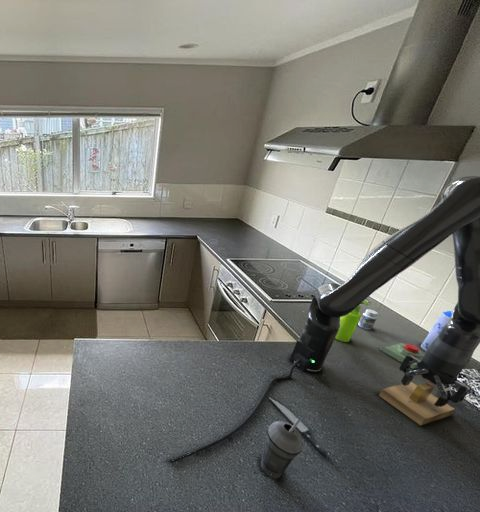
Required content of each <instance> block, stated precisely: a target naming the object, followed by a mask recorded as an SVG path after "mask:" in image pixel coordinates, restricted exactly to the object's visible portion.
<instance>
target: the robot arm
mask: <svg viewBox="0 0 480 512" xmlns="http://www.w3.org/2000/svg"><path fill="white" fill-rule="evenodd" d="M451 235H452V241H453V255H454V256H453V258H454V271H455V279H456V283H457V302H456V304H455V306H454V308H453V310H452V311H453V312H452V314H451V317H450V319H449V321H448V322H447V324H446V325H445V326H444V327H443V329H442V330H441V332H440V334H439V335H438V337H437V338H436V339H435V340H434V341H433V342H432V344H431V345H430V347H429V348H428V350H427V351H425V353H424V356H423V358H422V360H419V359H417V358H416V357H415V356H414V355H409V356H406V357H405V359H404V360H403V362H401V364H400V365H399V366H398V367H399V368H398V369H399V370H400V371H401V372H402V373H404V375H403V377H402V378H401V384H402V385H404V386H407V385H409V384H410V382H412V381H413V379H414V378H415V376H421V377H422V378H423V379H425V380H427V381H428V382H429V383H431V384H432V385H434V386H435V385H436V386H437V387H436V388H437V390H438V391H439V393H440V396H438V397H437V398H438V400H437V401H436V403H435V404H434V405H435V406H437V407H439V406H440V407H442V406H445V405H446V404H448V403H449V401H450V402H452V403H453V404H458V403H461V402H463V400H464V399H465V398H466V396H468V394H469V392H470V391H471V390H472V386H471V385H469V384H464V383H462V382H461V381H458V376H459V375H460V374H461V372H463V370H464V368H465V367H466V366H467V364H469V362H470V361H471V358H472V357H473V355H474V352H475V350H476V349H477V347H478V346H479V345H480V175H468V176H462V177H459V178H457V179H454V180H452V181H451V182H449V183H448V184H447V185H445V186H444V188H443V190H442V191H441V201H440V202H438V203H437V205H435V206H434V207H432V209H431V210H430V211H428V212H427V213H426V214H424V215H423V216H422V217H420V218H418V219H417V220H415V221H414V222H412V223H410V224H408V225H406V226H404V227H403V228H400V229H399V230H397V231H395V232H393V233H392V234H391V235H389V236H387V237H386V238H385V239H382V241H381V242H380V243H378V244H377V245H376V246H375V247H373V248H372V249H371V250H369V252H368V253H367V254H366V255H365V256H364V258H362V260H361V262H360V263H359V265H358V266H357V268H356V270H355V271H354V272H353V274H352V275H351V276H350V277H349V278H348V279H346V281H344V282H343V283H342V284H338V283H334V282H328V283H324V284H322V285H320V286H318V288H316V290H315V292H314V294H313V296H312V299H311V302H310V305H309V307H308V311H307V318H306V320H305V323H304V326H303V328H302V330H301V332H300V335H299V337H298V340H296V342H295V344H294V347H293V350H292V352H291V355H290V357H289V360H290V361H291V362H292V365H291V367H290V370H289V372H288V374H286V375H284V376H275V377H273V378H271V379H270V381H269V382H268V384H267V385H266V388H265V390H264V392H263V393H262V395H261V397H260V398H259V400H258V401H257V403H256V405H255V406H254V408H253V409H252V410H251V412H250V413H249V414H248V415H247V417H246V418H245V419H243V421H242V422H240V424H238V425H237V426H236V427H234V428H233V429H232V430H230V431H229V432H226V433H225V434H224V435H222V436H220V437H218V438H216V439H214V440H213V441H211V442H208V443H206V444H204V445H201V446H199V447H197V448H194V449H192V450H190V451H187V452H185V453H183V454H179V455H177V456H174V457H172V458H170V459H169V462H170V463H171V464H175V463H177V462H179V461H181V460H184V459H186V458H188V457H191V456H193V455H195V454H198V453H201V452H202V451H205V450H207V449H210V448H211V447H214V446H216V445H217V444H220V443H222V442H223V441H225V440H227V439H229V438H230V437H232V436H233V435H234V434H236V433H237V432H239V431H240V430H241V429H242V428H244V427H245V425H247V423H248V422H250V420H251V419H252V418H253V417H254V415H255V414H256V413H257V411H258V409H259V408H260V406H261V405H262V403H263V402H264V400H265V398H266V396H267V394H269V391H270V389H271V387H272V385H273V384H274V382H276V381H280V380H287V379H289V378H291V376H292V375H293V373H294V370H295V368H296V366H297V367H298V368H299V369H300V370H301V371H303V372H309V373H319V372H321V371H322V367H323V365H324V363H325V361H326V358H327V357H328V355H329V352H330V350H331V348H332V346H333V343H334V341H335V339H336V338H335V337H336V335H337V333H338V331H339V328H340V317H342V316H345V315H347V314H349V313H351V312H352V311H353V310H354V309H355V308H356V307H358V306H361V304H363V303H362V302H363V301H364V300H365V301H366V300H367V299H368V298H369V297H370V296H371V295H372V294H373V293H375V292H376V291H378V290H379V289H380V288H382V287H383V286H385V285H386V284H387V283H389V282H390V281H391V280H393V279H394V278H395V277H397V276H398V275H400V274H401V273H403V272H404V271H405V270H407V269H409V268H411V266H413V265H414V264H415V263H417V262H418V261H419V260H421V259H422V258H423V257H424V256H426V255H427V254H428V253H430V252H431V251H432V250H434V249H435V248H437V247H438V246H439V245H440V244H441V243H443V242H444V241H445V240H446V239H448V238H449V237H450V236H451ZM413 363H417V366H418V368H417V369H414V370H411V368H410V366H411V364H413ZM451 385H454V386H455V390H456V392H455V393H454V394H453V393H452V386H451ZM194 451H196V452H194ZM188 452H190V453H191V454H189V453H188ZM187 454H189V455H187ZM183 456H184V457H183ZM180 457H181V458H180ZM172 460H174V461H172Z"/></svg>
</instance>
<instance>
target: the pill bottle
mask: <svg viewBox="0 0 480 512" xmlns="http://www.w3.org/2000/svg"><path fill="white" fill-rule="evenodd" d="M378 315H379V313H378V312H377V311H376V310H373V309H370V308H367V309H366V310H365V311H364V312H363V313H362V314H361V318H360V320H359V322H358V324H357V326H358V327H360V328H361V329H364V330H372V328H373V326H374V324H375V322H376V321H377V318H378Z"/></svg>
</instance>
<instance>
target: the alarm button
mask: <svg viewBox="0 0 480 512" xmlns="http://www.w3.org/2000/svg"><path fill="white" fill-rule="evenodd" d="M405 349H406V350H407V351H409V352H412V353H418V351H419V350H420V348H419V347H418V346H416V345H414V344H411V343H406V346H405Z"/></svg>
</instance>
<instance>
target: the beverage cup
mask: <svg viewBox="0 0 480 512" xmlns="http://www.w3.org/2000/svg"><path fill="white" fill-rule="evenodd" d="M299 421H301V419H300V418H297V420H296V422H295V423H294V424H292V423H290V422H287V421H286V420H285V421H284V420H278V421H277V420H276V421H274V422H272V423H271V424H270V425H269V426H268V427H267V430H266V440H265V444H264V448H263V452H262V455H261V460H260V467H261V469H262V471H263V472H264V473H265V474H266V475H267V476H269V477H270V478H272V479H279V478H280V477H281V476H282V475H283V474H284V472H285V471H286V470H287V468H288V467H289V466H290V465H291V464H292V462H293V460H294V459H295V458H296V457H297V456H298V455H299V454H301V453H302V450H303V445H304V443H303V438H302V434H301V432H300V430H299V429H298V428H297V427H296V426H297V424H298V423H299ZM271 474H272V475H271Z"/></svg>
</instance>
